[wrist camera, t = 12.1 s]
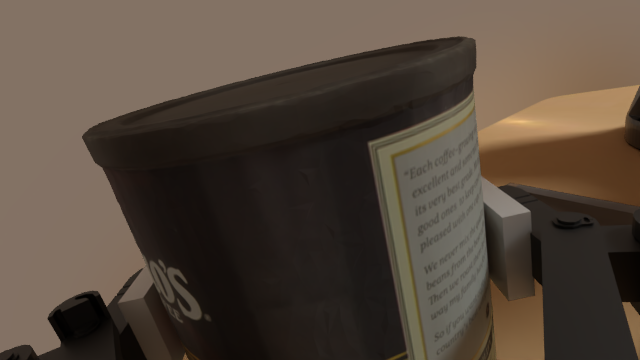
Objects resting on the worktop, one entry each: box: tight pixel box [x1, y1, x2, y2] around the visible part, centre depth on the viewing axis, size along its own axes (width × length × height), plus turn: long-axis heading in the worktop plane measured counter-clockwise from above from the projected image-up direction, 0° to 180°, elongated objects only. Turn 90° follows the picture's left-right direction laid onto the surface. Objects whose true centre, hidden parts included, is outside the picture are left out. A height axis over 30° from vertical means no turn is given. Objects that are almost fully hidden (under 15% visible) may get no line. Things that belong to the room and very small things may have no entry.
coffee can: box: [82, 37, 496, 360], centre depth 13 cm, size 10×10×14 cm
